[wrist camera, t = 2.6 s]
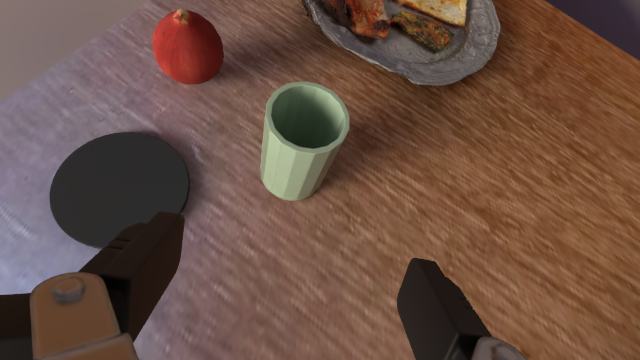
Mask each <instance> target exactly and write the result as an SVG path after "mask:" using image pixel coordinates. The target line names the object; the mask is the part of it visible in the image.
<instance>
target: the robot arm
mask: <svg viewBox="0 0 640 360" xmlns="http://www.w3.org/2000/svg"><path fill="white" fill-rule="evenodd" d="M184 221H185V219H184V215H180V214H175V213H170V212H164V211H159V212H158V213H157V214H156V215H155V216H154V217H153V218H152V219H151V220H150V221H149V222H148V223H147V224H146V223H140V222H139V223H136V224H134V225H132V226H129V227H127V228H125V229H123V230H122V231H121V232H120V233H119V234H118V235H117V236H116V237H115V239H114V240H112V241H111V242H109V243H108V244H107V246H106V247H104V248H103V249H102V250H101V251H100V252H99V253H98V254H97V255H96V256H94V257H93V258H92V259H91V260H90V261H89V262H88V263H87V264H86V265H85V266H84V267H83V268H82V269H81V270H79V271H78V272H72V273H65V274H61V275H57V276H54V277H52V278H49V279H47V280H45V281H43V282H42V283H40V284H39V285H38V286H36V287H35V288H34V290H33V291H32V292H31V293H27V294H12V295H0V360H138V357H137V354H136V351H135V348H134V345H133V342H134V341H135V339H136V337H137V336H138V334H139V332H140V331H141V329H142V328H143V326H144V324H145V323H146V321H147V319H148V318H149V316H150V314H151V313H152V311H153V309H154V308H155V306H156V305H157V303H158V301H159V300H160V298H161V296H162V295H163V293H164V291H165V290H166V288H167V286H168V285H169V283H170V282H171V280H172V278H173V277H174V275H175V273H176V271H177V268H178V265H179V262H180V257H181V249H182V240H183V231H184ZM472 308H473V307H472V306H471V304H470V303H469V301H467V300H466V297H465V296H464V294H463V293H462V291H461V290H460V288H459V287H458V286H457V285H455V284H454V283H453V282H452V281H451V280H450V279H449V278H447V277H445V276H444V274H443V273H442V271H441V269H440V268H439V266H438V265H437V263H436V262H434V261H430V260H424V259H419V258H413V259H412V260H411V261H410V263H409V266H408V268H407V271H406V274H405V277H404V279H403V282H402V285H401V288H400V290H399V293H398V298H397V309H398V312H399V315H400V318H401V321H402V323H403V326H404V329H405V331H406V334H407V337H408V339H409V342H410V345H411V348H412V350H413V353H414V356H415V358H416V360H527V359H526V357H525V356H524V355H523V354H522V353H521V352H520V351H518V350H517V349H516V348H515V347H513V346H512V345H510V344H508V343H507V342H505V341H503V340H500V339H498V338H494V337H492V335H491V334H490V332H489V331H488V330H487V328H486V327H485V325H484V324H483V322H482V321H481V319H480V318H479V316H478V315H477V313H476V312H475V310H473V309H472Z"/></svg>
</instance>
